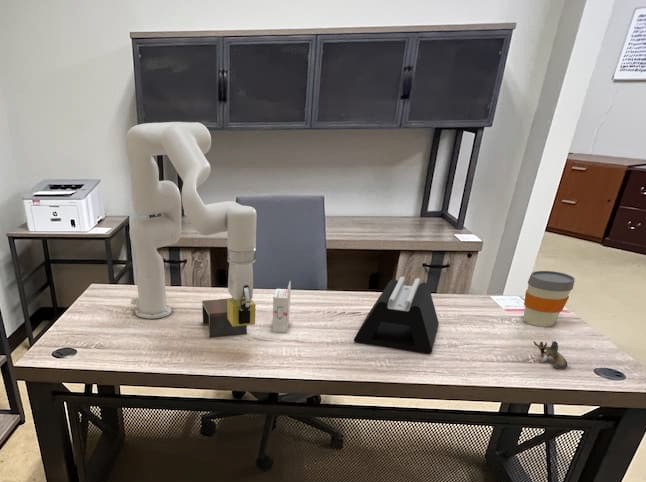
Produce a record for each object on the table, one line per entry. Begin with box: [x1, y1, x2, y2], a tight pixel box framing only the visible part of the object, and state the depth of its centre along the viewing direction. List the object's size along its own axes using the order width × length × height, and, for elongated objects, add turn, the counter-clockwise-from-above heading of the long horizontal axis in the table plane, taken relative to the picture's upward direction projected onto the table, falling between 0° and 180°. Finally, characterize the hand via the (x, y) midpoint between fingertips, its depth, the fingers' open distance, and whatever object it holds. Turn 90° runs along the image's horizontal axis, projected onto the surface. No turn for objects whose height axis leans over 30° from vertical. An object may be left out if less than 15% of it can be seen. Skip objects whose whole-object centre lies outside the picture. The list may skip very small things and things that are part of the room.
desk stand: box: [201, 298, 248, 339], centre depth 171 cm, size 12×12×8 cm
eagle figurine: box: [533, 339, 568, 370], centre depth 147 cm, size 8×7×9 cm
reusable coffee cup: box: [523, 270, 576, 328], centre depth 170 cm, size 13×13×15 cm
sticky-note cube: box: [226, 297, 257, 326], centre depth 149 cm, size 6×6×6 cm
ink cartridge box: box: [271, 280, 292, 333], centre depth 169 cm, size 9×5×15 cm, turn 168°
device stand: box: [353, 276, 440, 355], centre depth 163 cm, size 22×22×15 cm
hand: (240, 318), depth 151 cm, fingers closed on sticky-note cube, 6 cm apart
